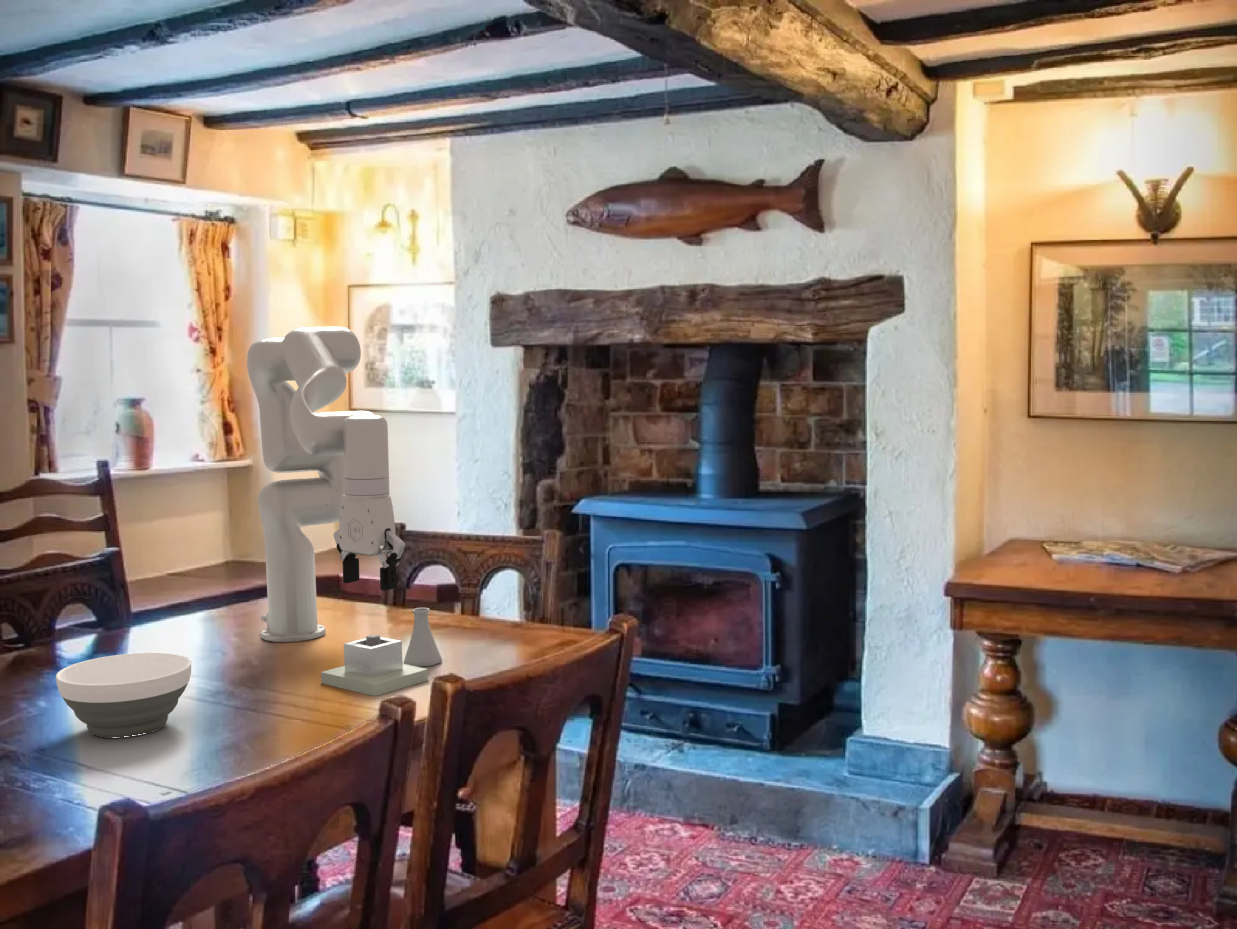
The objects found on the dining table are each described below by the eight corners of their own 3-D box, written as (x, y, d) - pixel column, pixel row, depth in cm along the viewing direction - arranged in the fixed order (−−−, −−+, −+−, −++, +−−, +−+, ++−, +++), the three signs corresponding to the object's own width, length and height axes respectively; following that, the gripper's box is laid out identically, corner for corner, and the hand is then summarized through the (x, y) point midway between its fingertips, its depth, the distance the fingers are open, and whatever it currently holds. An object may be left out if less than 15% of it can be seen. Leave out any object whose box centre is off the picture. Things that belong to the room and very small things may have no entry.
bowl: (59, 755, 185) (55, 691, 184) (59, 720, 203) (55, 661, 202) (200, 736, 193) (197, 675, 192) (188, 704, 211) (185, 647, 210)
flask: (434, 668, 231) (433, 614, 230) (396, 667, 232) (394, 613, 231) (448, 658, 238) (446, 605, 237) (411, 657, 239) (409, 604, 238)
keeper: (321, 683, 222) (319, 638, 221) (374, 668, 231) (373, 625, 230) (374, 696, 213) (373, 649, 212) (428, 680, 223) (426, 635, 222)
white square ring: (344, 671, 222) (343, 643, 221) (375, 663, 227) (374, 635, 226) (371, 677, 217) (370, 649, 217) (402, 669, 223) (401, 640, 222)
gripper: (317, 485, 221) (320, 582, 224) (384, 494, 211) (386, 596, 213) (351, 481, 227) (354, 575, 229) (418, 489, 217) (420, 588, 219)
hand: (369, 585), depth 221 cm, fingers open, 9 cm apart
